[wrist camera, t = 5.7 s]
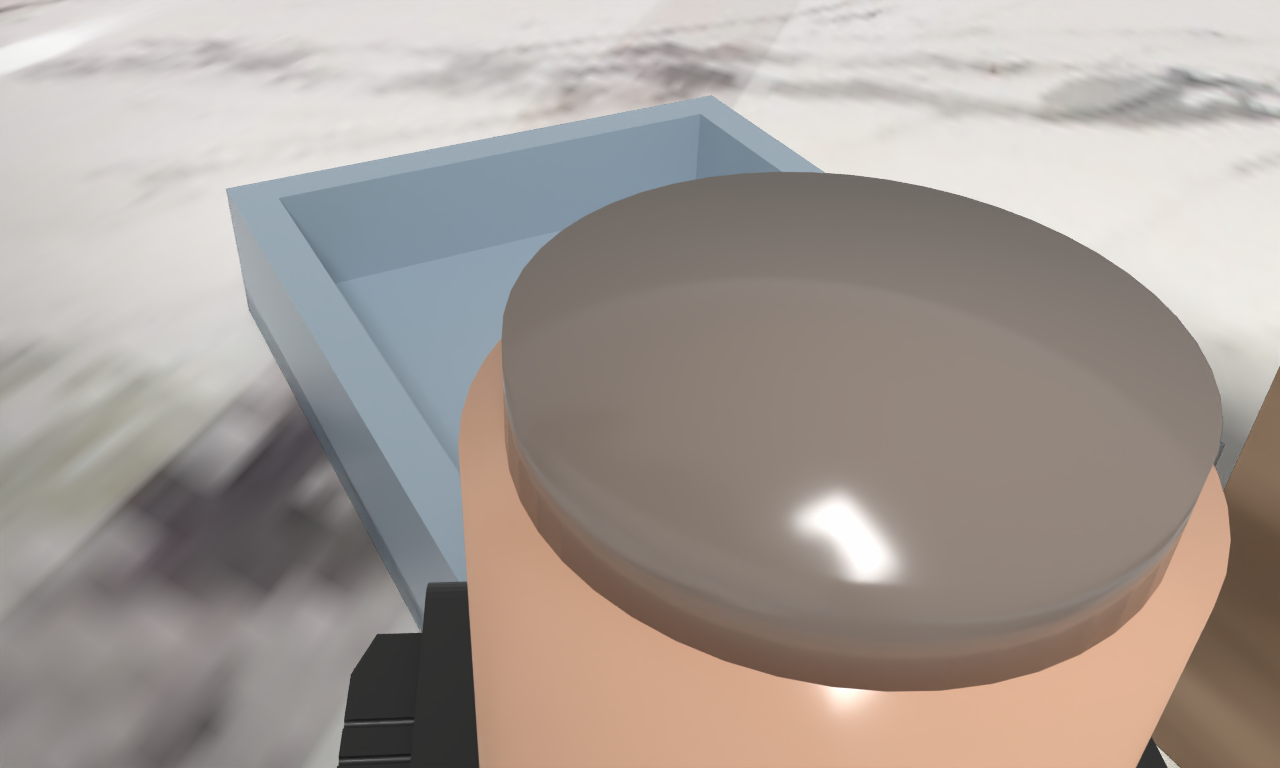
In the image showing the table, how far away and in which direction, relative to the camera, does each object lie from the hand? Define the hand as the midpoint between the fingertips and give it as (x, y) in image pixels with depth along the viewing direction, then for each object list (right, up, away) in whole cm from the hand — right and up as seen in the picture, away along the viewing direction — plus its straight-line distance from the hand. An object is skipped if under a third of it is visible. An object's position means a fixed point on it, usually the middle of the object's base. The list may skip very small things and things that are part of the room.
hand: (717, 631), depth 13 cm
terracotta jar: (0, -7, +2) cm, 7 cm away
